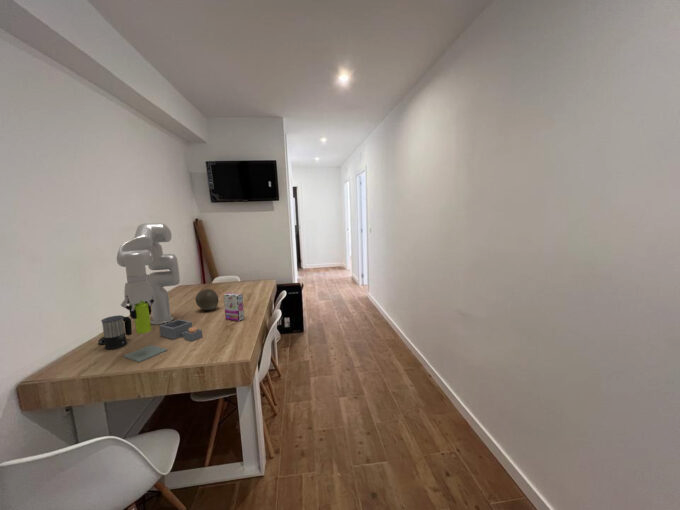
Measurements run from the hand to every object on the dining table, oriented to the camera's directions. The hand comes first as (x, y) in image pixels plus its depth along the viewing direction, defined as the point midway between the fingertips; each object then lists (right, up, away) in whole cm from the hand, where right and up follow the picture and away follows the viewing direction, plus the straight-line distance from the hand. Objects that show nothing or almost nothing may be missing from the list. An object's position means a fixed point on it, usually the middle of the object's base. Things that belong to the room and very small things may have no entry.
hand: (141, 315), depth 139 cm
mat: (0, -19, +2) cm, 19 cm away
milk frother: (-25, -18, +14) cm, 34 cm away
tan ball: (+15, -13, +19) cm, 28 cm away
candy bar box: (+27, -12, +48) cm, 56 cm away
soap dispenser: (0, -8, +1) cm, 8 cm away
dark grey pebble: (+1, -10, +68) cm, 69 cm away
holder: (+7, -16, +23) cm, 29 cm away
